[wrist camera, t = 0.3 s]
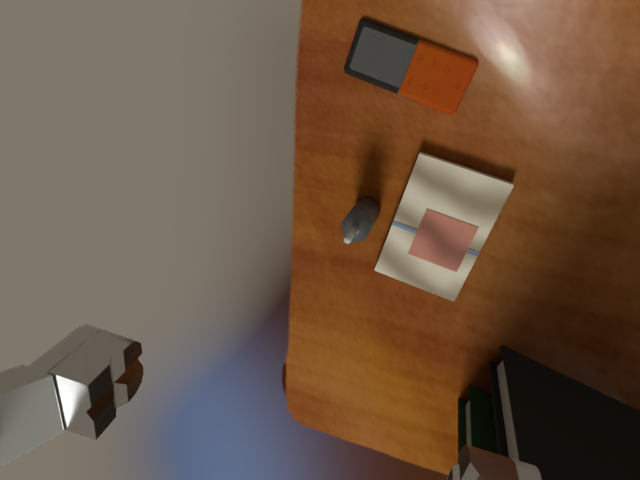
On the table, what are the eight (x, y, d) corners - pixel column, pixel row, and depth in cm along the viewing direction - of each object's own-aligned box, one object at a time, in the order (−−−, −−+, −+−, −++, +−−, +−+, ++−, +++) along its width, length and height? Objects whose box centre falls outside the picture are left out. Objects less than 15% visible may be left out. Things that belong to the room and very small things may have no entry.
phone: (453, 116, 48) (341, 72, 50) (453, 115, 50) (343, 72, 52) (480, 61, 46) (360, 16, 47) (479, 61, 47) (362, 17, 49)
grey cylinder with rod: (359, 193, 56) (337, 221, 46) (383, 202, 56) (366, 232, 45) (352, 215, 58) (328, 248, 48) (375, 224, 57) (357, 259, 47)
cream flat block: (420, 151, 52) (419, 153, 50) (512, 182, 50) (514, 185, 48) (376, 266, 60) (374, 270, 58) (454, 296, 58) (454, 302, 56)
